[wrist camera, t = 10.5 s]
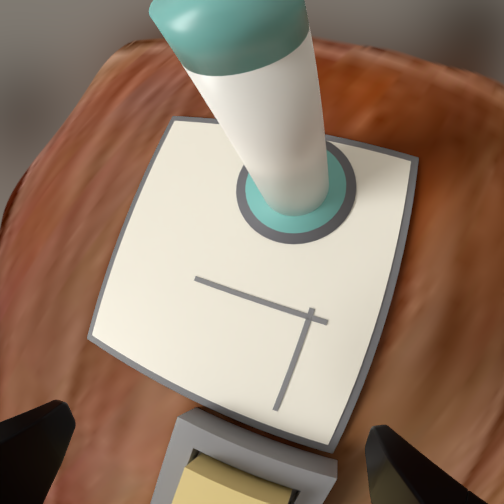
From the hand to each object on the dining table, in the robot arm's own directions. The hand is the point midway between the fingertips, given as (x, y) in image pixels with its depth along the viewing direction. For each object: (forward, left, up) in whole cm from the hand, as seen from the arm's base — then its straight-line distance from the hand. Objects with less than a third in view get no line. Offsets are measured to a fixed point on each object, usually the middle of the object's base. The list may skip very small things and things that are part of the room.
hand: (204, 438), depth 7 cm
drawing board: (+4, -6, -10) cm, 12 cm away
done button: (-1, +8, -8) cm, 11 cm away
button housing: (-1, +8, -10) cm, 12 cm away
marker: (+2, -11, -9) cm, 14 cm away
